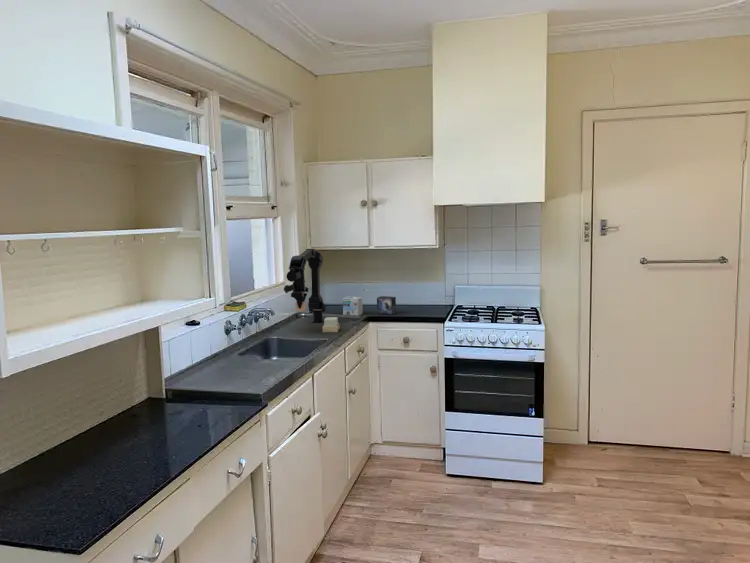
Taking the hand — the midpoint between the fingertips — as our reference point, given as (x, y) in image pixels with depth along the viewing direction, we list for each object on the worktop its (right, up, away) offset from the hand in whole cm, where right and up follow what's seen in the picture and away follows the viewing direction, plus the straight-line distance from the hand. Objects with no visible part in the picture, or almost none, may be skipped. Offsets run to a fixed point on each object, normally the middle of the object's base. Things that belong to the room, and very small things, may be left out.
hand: (300, 307), depth 306 cm
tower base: (+17, -13, 0) cm, 21 cm away
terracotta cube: (0, -2, 0) cm, 2 cm away
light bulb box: (+27, -7, +44) cm, 52 cm away
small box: (+48, -6, +43) cm, 65 cm away
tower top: (+17, -9, 0) cm, 19 cm away
